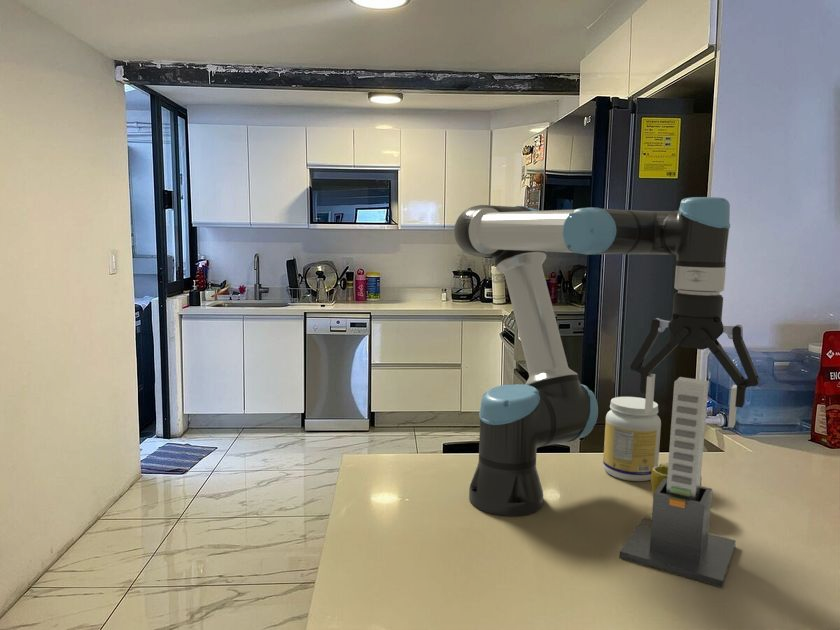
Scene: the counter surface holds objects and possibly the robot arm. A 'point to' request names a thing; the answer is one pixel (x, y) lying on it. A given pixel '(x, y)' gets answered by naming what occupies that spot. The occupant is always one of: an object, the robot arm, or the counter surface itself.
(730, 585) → the counter surface
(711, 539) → the stand
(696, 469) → the column
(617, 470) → the supplement tub
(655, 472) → the mug
